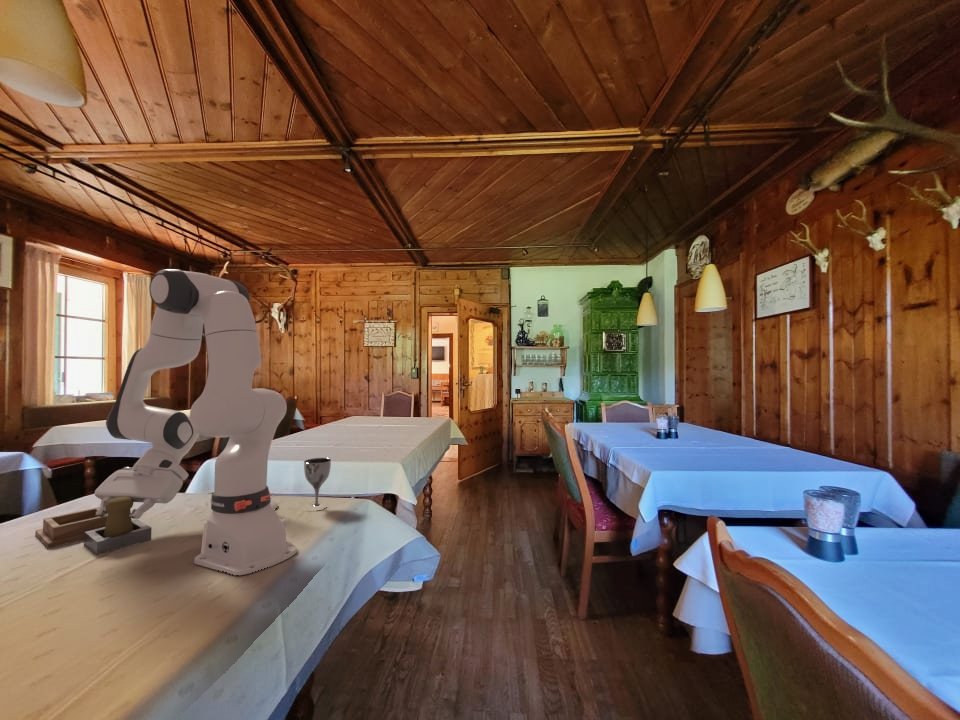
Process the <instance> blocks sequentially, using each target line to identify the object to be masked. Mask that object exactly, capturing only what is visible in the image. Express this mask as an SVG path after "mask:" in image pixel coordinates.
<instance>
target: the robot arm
mask: <svg viewBox="0 0 960 720" xmlns="http://www.w3.org/2000/svg"><path fill="white" fill-rule="evenodd" d="M149 296H150V299H151V301H152V302H153V304H154V305H155V306H156V308H155V310H154V315H153V317H152V320H151V321H152V322H151V325H150V326H151V327H150V332H149V337H148V340H147V342H146V343H145V345H143V347H141V348H139V349H137V350H135V352H134V353H133V354H132V356H131V358H130V359H129V362H128V365H127V367H126V370H125V374H124V376H123V378H122V382H121V384H120V388H119V391H118V393H117V396H116V399H115V402H114V404H113V406H112V408H111V409H110V410H109V413H108V415H107V417H106V420H105V426H106V429H107V431H108V433H109V434H110V436H111V437H113V438H114V439H119V440H129V441H138V442H139V441H140V442H144V443H151V445H152V446H150V447H149V448H148V449H147V450H146V451H144V452H143V454H142V455H141V456H140V457H139V458H138V460H137V461H136V462H135V463H134V464H133V466H132V467H129V466H124V467H123V468H121V469H118V470H115V471H114V472H113V473H112V474H110V475H109V476H108V477H107V478H106V479H105V480H104V481H103V482H102V483H101V484H100V485H99V486H98V487H97V488H96V489H95V490H94V496H95V497H96V498H97V499H99V500H101V501H100V504H99V505H100V506H99V507H100V509H99V510H98V511H97V512H96V515H97V516H98V517H106V516H107V514H108V512H107V511H106V509H105V506H106V503H107V502H108V501H109V500H111V499H114V498H118V497H131V498H132V499H133V503H141V504H142V503H143V504H142V505H140V506H138V507H137V508H134V509H132V511H131V514H130V517H131V519H132V520H136V519H138V520H139V519H140V518H141V517H142V516H143V514H145V513H146V512H147V511H149V510H150V509H151V508H153V507H154V505H155V504H164V505H165V504H168V503H170V502H171V501H172V500H174V498H175V497H176V496H177V494H178V493H179V492H180V490H181V489H182V487H183V484H184V481H186V480H187V479H188V477H189V476H190V475H189V473H188V472H187V471H186V470H185V469H184V467H182V466H181V465H180V463H181V461H182V459H183V458H184V457H185V456H186V455H187V454H188V453H189V452H190V450H192V448H193V446H194V444H195V443H196V441H197V440H198V438H199V436H203V437H207V438H228V441H227V443H226V446H225V447H224V449H223V450H222V451H221V452H220V454H218V456H217V457H216V459H215V463H214V477H213V478H214V480H213V481H214V483H213V492H212V493H211V498H210V509H211V514H210V515H209V517H208V518H207V520H206V521H204V524H203V532H202V538H201V539H202V540H201V546H200V548H201V549H200V553H199V554H197V555H196V556H195V557H194V558H193V559H194V561H193V564H195V565H198V566H200V567H201V566H202V567H204V568H208V569H212V570H215V571H218V570H219V572H222V571H224V572H223V573H225V572H227V573H226V574H229V573H230V574H229V575H232V574H233V576H236V575H239V576H243V575H245V576H246V575H247V574H252V572H253V573H256V572H259V571H262V570H265V569H268V568H270V567H272V566H275V565H277V564H280V563H283V562H284V561H286V560H287V559H289V558H291V557H292V556H293V557H294V555H296V554H297V552H298V548H297V546H296V545H294V543H292V542H291V541H290V540H288V538H287V531H286V530H287V529H286V528H287V526H288V522H287V520H286V519H284V518H283V519H281V518H280V517H279V515H278V513H277V511H276V510H275V511H274V509H273V508H272V506H271V504H270V502H271V500H272V498H271V497H272V494H271V492H270V490H269V486H268V485H267V481H268V466H269V465H268V462H269V461H268V460H269V454H270V450H271V446H272V443H273V439H274V437H275V434H276V431H277V428H278V426H279V425H280V423H281V422H282V420H283V419H284V418H285V416H286V415H287V410H288V407H287V401H286V399H285V397H284V396H283V395H282V394H281V393H279V392H278V391H275V390H272V389H270V388H269V389H268V388H263V387H260V388H259V387H258V388H257V387H256V388H253V379H254V375H255V372H256V370H257V369H259V367H260V366H261V364H262V355H261V349H260V342H259V335H258V330H257V325H256V324H257V323H256V321H255V317H254V313H253V311H252V308H251V305H250V293H249V291H248V288H247V287H246V286H244V285H243V284H241V283H239V282H237V281H235V280H232V279H225V278H222V277H219V276H215V275H210V274H208V273H203V272H198V271H197V272H195V271H188V270H187V271H186V270H181V269H179V268H178V269H175V268H174V269H173V268H167V269H160V270H158V271H157V272H156V273H155V274H154V275H153V276H152V278H151V280H150V283H149ZM203 331H204V336H205V342H206V343H205V344H206V350H207V360H208V361H207V362H208V372H207V378H206V383H205V386H204V389H203V390H202V393H201V394H200V396H199V397H197V399H196V400H195V401H194V402H193V403H192V405H191V408H190V411H189V415H188V414H186V413H185V412H182V411H179V410H176V409H175V410H174V409H170V408H164V407H163V408H162V407H159V406H152V405H148V404H146V403H145V401H144V397H145V395H146V391H147V389H148V386H149V383H150V381H151V377H152V376H153V374H155V373H156V372H157V371H159V370H160V371H161V370H165V369H166V370H167V369H172V368H173V369H175V368H179V367H182V366H186V365H188V364H190V363H191V362H193V361H194V360H195V359H196V358H197V357H198V355H199V353H200V350H201V346H202V338H203ZM267 567H268V568H267ZM264 568H265V569H264ZM261 569H262V570H261ZM258 570H259V571H258ZM255 571H256V572H255Z"/></svg>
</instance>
